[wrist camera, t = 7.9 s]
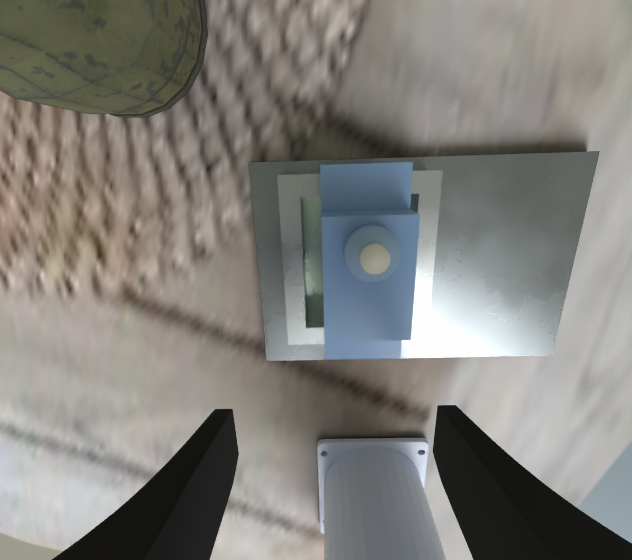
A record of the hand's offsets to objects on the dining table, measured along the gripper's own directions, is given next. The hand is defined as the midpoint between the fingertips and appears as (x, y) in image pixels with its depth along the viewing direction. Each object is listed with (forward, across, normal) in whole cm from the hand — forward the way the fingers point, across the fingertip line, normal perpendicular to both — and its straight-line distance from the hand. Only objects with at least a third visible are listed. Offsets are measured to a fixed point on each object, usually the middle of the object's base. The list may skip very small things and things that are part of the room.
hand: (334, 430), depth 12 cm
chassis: (+10, -5, -3) cm, 11 cm away
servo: (+9, -2, -4) cm, 10 cm away
